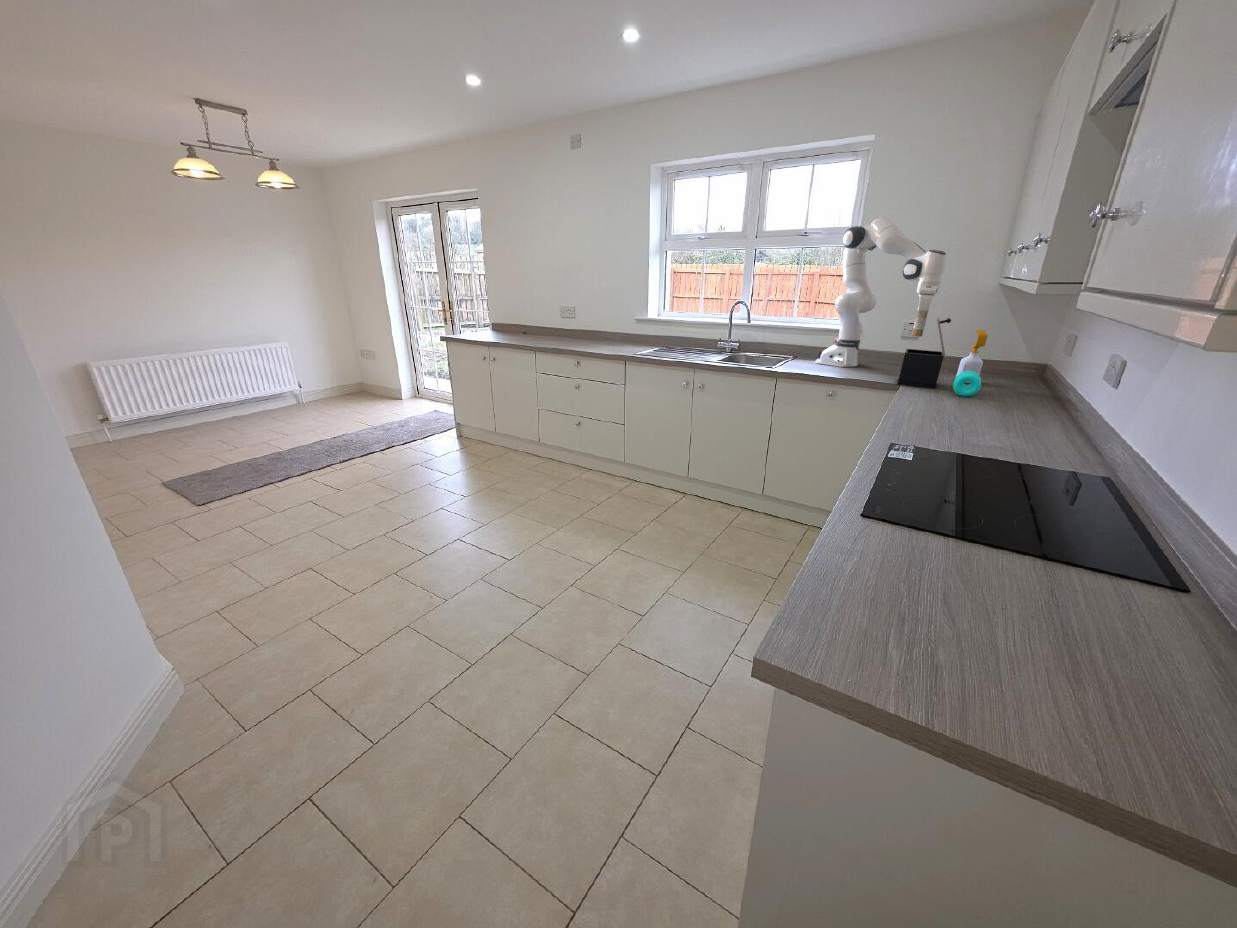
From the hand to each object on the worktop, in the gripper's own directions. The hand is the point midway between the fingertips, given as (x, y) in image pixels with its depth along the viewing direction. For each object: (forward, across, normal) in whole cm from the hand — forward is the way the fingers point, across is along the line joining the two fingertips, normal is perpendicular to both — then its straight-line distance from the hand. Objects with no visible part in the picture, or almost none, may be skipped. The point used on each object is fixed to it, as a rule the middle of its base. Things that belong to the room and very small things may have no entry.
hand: (920, 320), depth 226 cm
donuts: (+30, +11, +24) cm, 40 cm away
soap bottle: (+30, -19, +26) cm, 44 cm away
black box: (+30, 0, +5) cm, 30 cm away
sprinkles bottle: (+7, 0, 0) cm, 7 cm away
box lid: (+6, 0, +9) cm, 11 cm away
